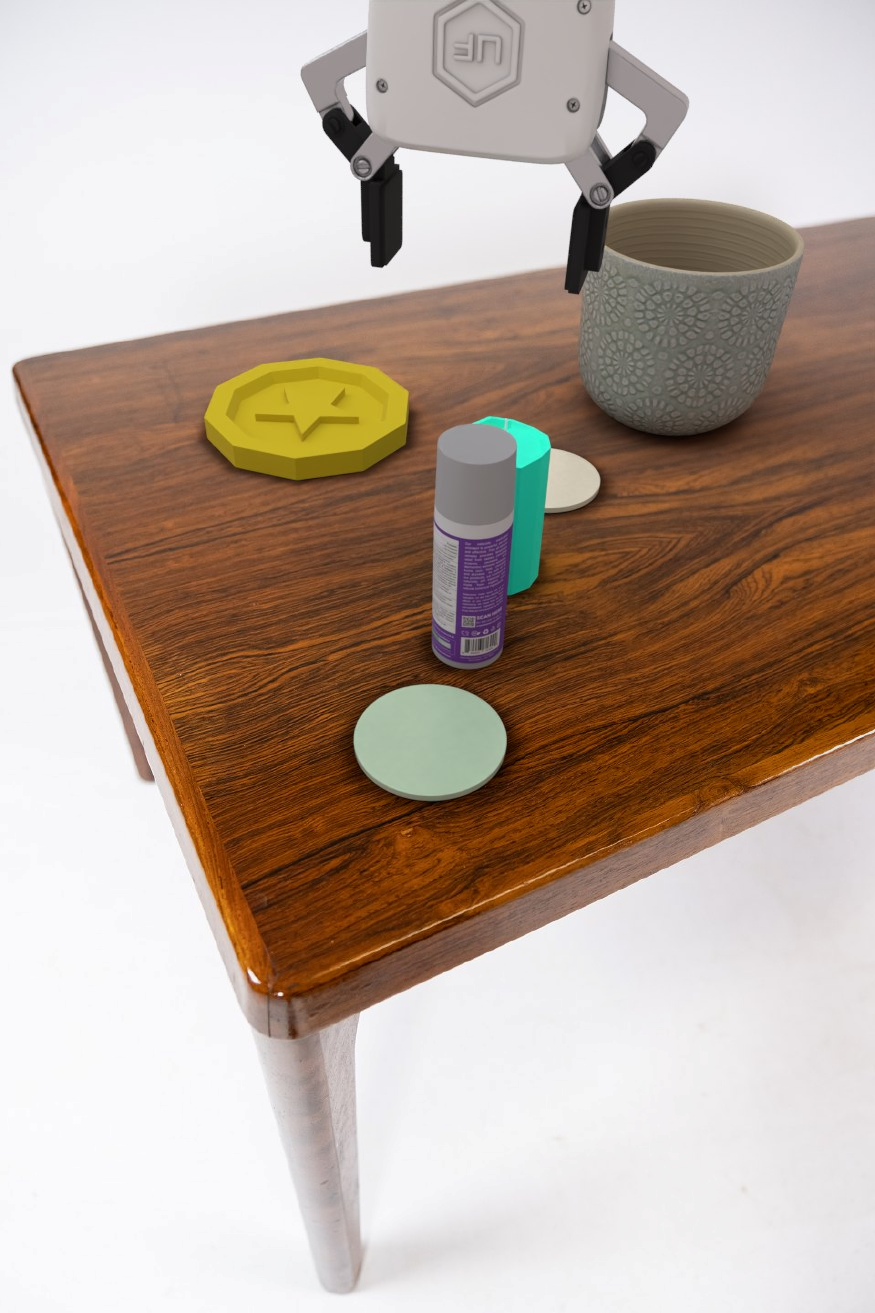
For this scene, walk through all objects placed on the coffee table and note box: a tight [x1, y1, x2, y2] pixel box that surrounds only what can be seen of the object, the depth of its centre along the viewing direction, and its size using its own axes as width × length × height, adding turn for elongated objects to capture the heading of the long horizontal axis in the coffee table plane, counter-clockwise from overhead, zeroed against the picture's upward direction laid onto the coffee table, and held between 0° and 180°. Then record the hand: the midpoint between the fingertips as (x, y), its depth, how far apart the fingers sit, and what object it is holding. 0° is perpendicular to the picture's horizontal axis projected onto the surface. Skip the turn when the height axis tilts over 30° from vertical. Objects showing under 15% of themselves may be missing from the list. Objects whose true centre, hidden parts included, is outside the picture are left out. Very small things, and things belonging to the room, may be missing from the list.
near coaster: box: [353, 683, 508, 802], centre depth 60 cm, size 9×9×1 cm
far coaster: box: [544, 447, 601, 514], centre depth 81 cm, size 9×9×1 cm
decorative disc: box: [203, 357, 410, 481], centre depth 87 cm, size 17×18×2 cm
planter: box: [577, 197, 805, 437], centre depth 85 cm, size 17×17×15 cm
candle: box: [471, 415, 552, 596], centre depth 68 cm, size 6×6×12 cm
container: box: [431, 423, 517, 670], centre depth 61 cm, size 5×5×15 cm
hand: (480, 270), depth 50 cm, fingers open, 9 cm apart
